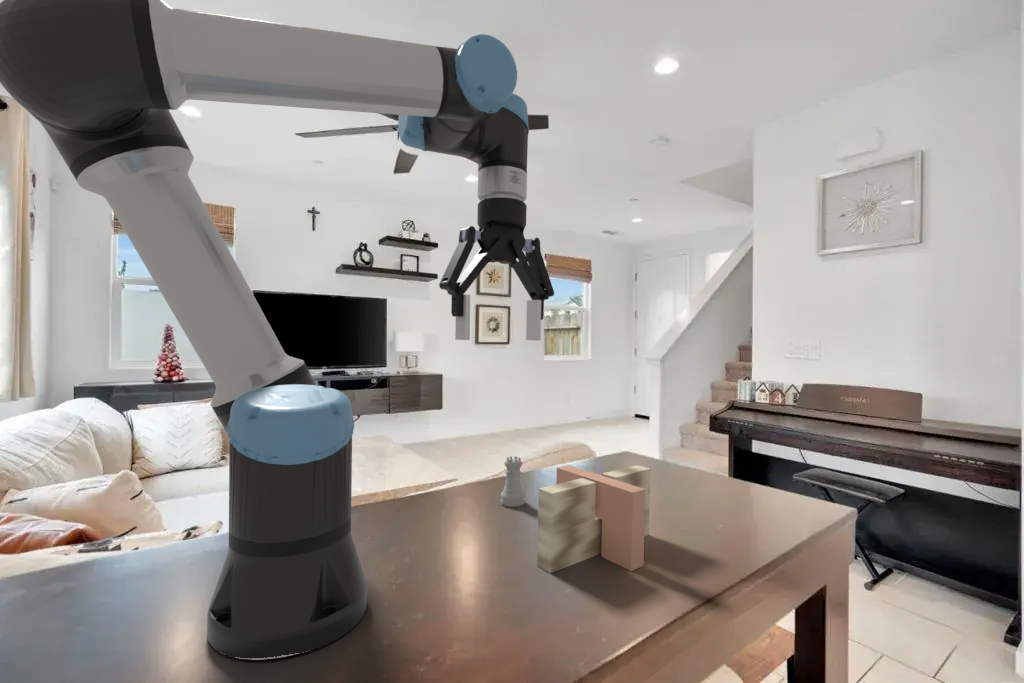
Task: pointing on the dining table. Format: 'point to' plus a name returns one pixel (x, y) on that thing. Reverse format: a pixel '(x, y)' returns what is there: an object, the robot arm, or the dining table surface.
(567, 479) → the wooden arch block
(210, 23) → the robot arm
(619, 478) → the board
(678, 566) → the dining table surface
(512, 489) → the rook chess piece
